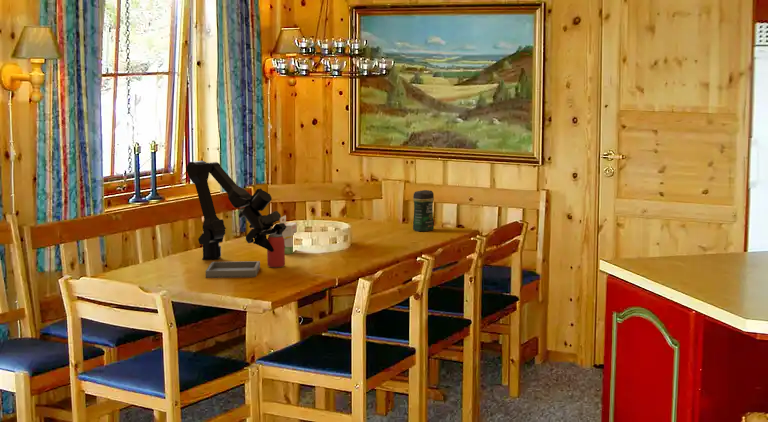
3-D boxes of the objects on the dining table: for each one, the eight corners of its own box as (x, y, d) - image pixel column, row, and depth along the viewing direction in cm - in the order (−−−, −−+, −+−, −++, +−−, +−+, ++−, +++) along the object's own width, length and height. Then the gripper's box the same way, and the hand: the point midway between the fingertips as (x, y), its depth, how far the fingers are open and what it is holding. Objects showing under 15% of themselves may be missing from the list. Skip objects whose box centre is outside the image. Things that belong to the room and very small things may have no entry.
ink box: (291, 254, 422) (290, 218, 420) (279, 253, 423) (279, 217, 421) (297, 250, 431) (296, 215, 429) (286, 250, 432) (285, 214, 430)
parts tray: (205, 277, 376) (205, 271, 375) (212, 268, 393) (211, 261, 393) (255, 277, 376) (255, 270, 376) (260, 267, 394) (259, 261, 394)
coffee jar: (423, 232, 474) (423, 191, 471) (410, 230, 479) (410, 190, 477) (436, 229, 481) (436, 189, 479) (423, 228, 486) (423, 188, 484)
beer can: (271, 268, 392) (270, 237, 390) (265, 265, 397) (264, 234, 396) (287, 267, 395) (286, 235, 393) (281, 264, 400) (280, 233, 399)
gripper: (250, 207, 387) (274, 239, 383) (282, 202, 403) (305, 232, 398) (235, 227, 393) (258, 258, 388) (266, 220, 408) (289, 251, 404)
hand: (278, 249), depth 394 cm, fingers closed on beer can, 6 cm apart
